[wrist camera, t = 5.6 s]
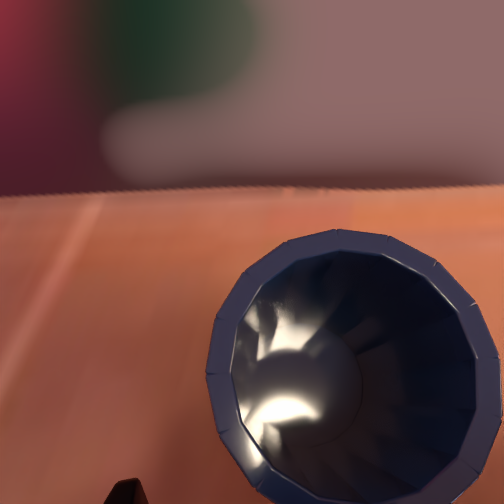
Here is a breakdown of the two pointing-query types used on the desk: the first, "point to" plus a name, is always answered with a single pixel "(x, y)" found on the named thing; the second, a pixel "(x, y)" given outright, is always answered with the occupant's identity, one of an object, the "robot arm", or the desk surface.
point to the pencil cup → (354, 374)
